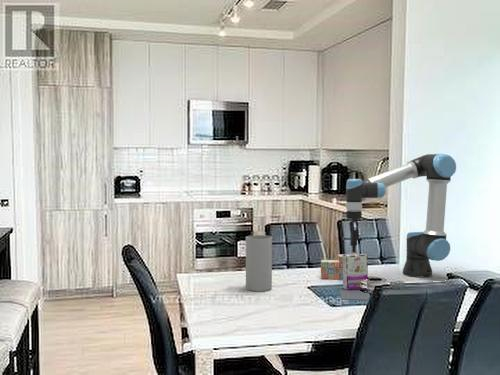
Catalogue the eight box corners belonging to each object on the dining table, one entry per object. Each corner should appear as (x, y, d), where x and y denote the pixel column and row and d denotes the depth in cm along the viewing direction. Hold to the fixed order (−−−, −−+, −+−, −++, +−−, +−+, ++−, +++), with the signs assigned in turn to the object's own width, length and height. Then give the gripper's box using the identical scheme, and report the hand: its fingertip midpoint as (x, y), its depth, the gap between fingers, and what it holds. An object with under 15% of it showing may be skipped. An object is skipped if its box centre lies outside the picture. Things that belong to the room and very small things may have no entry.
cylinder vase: (269, 292, 238) (269, 239, 237) (243, 291, 240) (243, 238, 239) (273, 286, 250) (273, 235, 249) (248, 285, 253) (248, 234, 251)
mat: (373, 290, 240) (373, 290, 240) (378, 300, 224) (378, 299, 224) (338, 290, 242) (338, 289, 242) (341, 299, 225) (341, 299, 225)
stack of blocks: (321, 279, 264) (321, 256, 263) (320, 277, 270) (320, 254, 269) (363, 280, 263) (363, 256, 262) (361, 277, 269) (361, 254, 269)
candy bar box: (363, 287, 248) (363, 253, 248) (368, 289, 243) (368, 254, 243) (342, 288, 245) (342, 254, 245) (346, 290, 240) (346, 255, 240)
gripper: (345, 209, 256) (344, 255, 257) (347, 211, 243) (346, 260, 244) (360, 209, 255) (359, 256, 256) (363, 211, 242) (362, 261, 243)
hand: (353, 258), depth 250 cm, fingers closed
